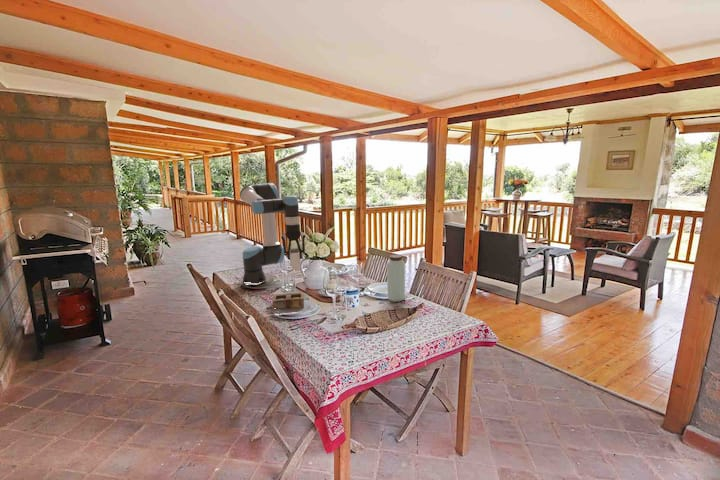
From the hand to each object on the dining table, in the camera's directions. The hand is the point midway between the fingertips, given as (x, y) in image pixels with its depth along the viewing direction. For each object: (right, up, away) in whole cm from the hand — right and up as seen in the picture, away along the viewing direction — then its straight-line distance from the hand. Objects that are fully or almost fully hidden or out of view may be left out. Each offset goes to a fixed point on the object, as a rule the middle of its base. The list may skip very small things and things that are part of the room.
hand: (295, 264), depth 200 cm
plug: (0, -3, +1) cm, 3 cm away
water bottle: (+57, -20, 0) cm, 60 cm away
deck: (+1, -20, +5) cm, 21 cm away
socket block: (-2, -23, -7) cm, 24 cm away
